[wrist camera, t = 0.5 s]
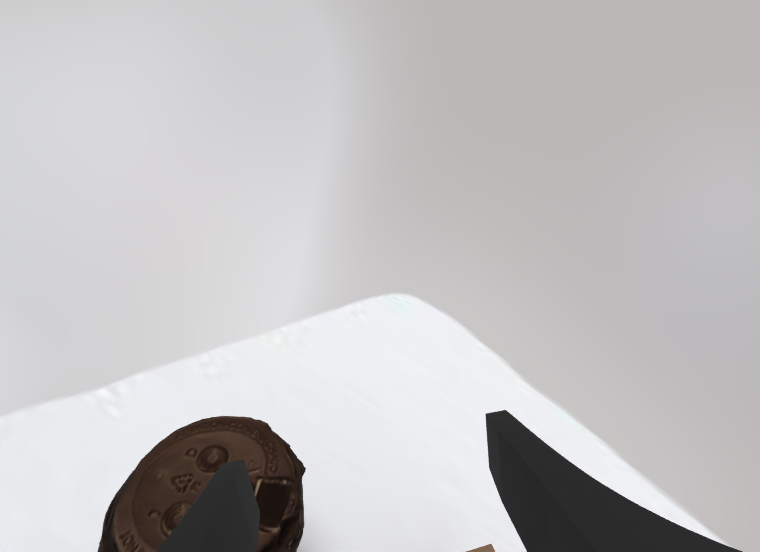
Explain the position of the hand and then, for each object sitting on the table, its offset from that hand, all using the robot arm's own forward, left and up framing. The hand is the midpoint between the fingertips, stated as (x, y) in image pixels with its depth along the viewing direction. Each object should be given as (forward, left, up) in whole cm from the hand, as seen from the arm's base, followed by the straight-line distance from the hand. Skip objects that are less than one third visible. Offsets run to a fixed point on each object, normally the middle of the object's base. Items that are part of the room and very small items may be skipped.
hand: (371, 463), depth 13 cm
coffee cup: (+4, +5, -19) cm, 20 cm away
